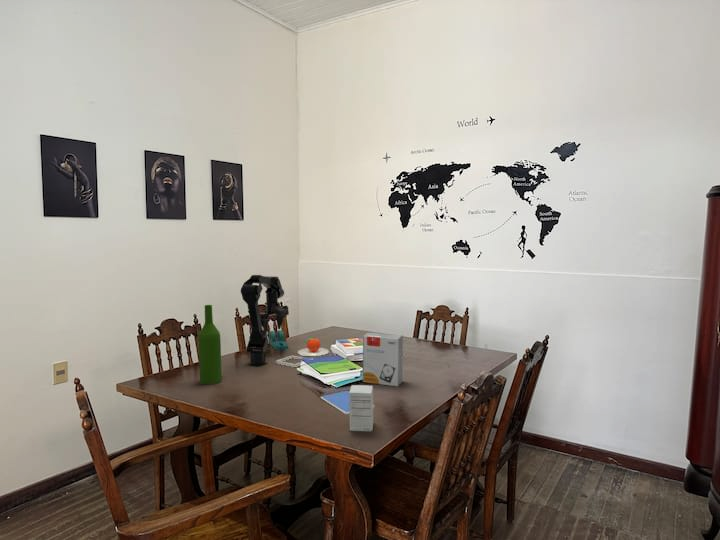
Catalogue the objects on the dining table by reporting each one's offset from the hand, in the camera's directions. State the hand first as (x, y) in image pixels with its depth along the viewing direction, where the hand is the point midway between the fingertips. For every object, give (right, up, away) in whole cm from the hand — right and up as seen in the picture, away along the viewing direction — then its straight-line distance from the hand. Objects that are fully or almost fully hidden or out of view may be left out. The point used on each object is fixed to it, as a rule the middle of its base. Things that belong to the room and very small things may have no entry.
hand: (272, 330), depth 246 cm
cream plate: (+21, -12, +1) cm, 24 cm away
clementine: (+21, -11, 0) cm, 23 cm away
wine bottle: (-18, -16, -43) cm, 50 cm away
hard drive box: (+55, -16, -46) cm, 73 cm away
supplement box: (+46, -20, -91) cm, 104 cm away
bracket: (+1, -11, +16) cm, 19 cm away
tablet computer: (+40, -18, -70) cm, 83 cm away
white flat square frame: (+13, -13, -17) cm, 25 cm away
